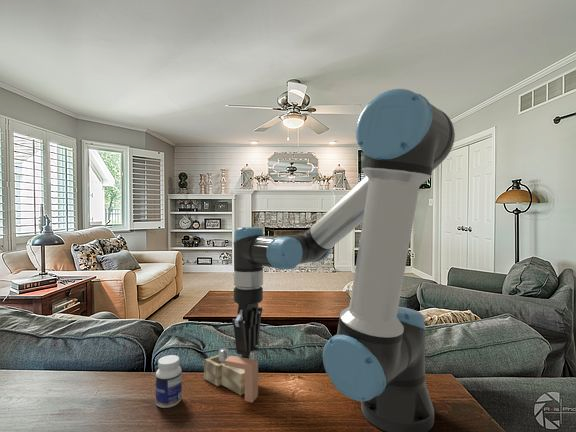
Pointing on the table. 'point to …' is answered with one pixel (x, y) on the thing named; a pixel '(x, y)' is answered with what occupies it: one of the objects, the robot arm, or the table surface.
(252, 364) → the keeper
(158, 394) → the pill bottle
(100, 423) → the table surface
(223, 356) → the cylinder
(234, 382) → the link
